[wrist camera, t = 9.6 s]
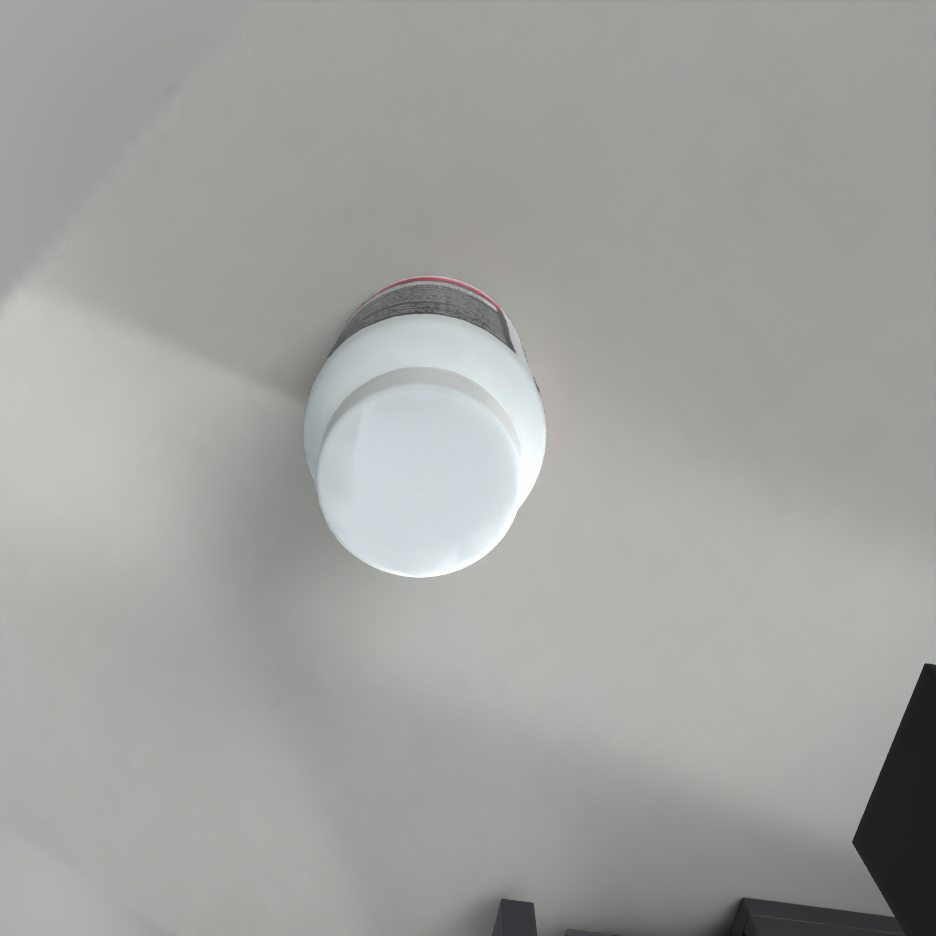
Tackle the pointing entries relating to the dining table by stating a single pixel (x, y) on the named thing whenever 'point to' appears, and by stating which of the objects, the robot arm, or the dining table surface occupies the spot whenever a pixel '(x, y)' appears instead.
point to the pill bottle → (424, 428)
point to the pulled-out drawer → (523, 921)
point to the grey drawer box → (808, 921)
